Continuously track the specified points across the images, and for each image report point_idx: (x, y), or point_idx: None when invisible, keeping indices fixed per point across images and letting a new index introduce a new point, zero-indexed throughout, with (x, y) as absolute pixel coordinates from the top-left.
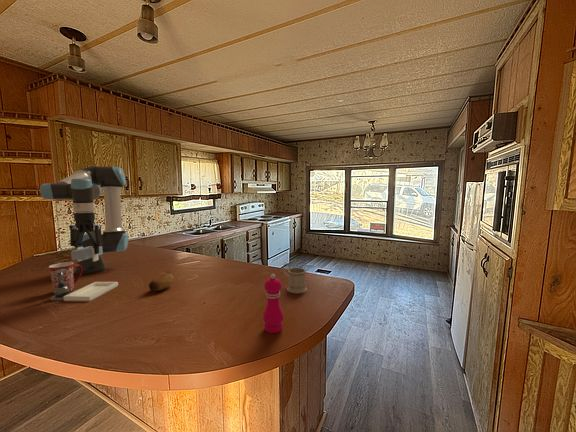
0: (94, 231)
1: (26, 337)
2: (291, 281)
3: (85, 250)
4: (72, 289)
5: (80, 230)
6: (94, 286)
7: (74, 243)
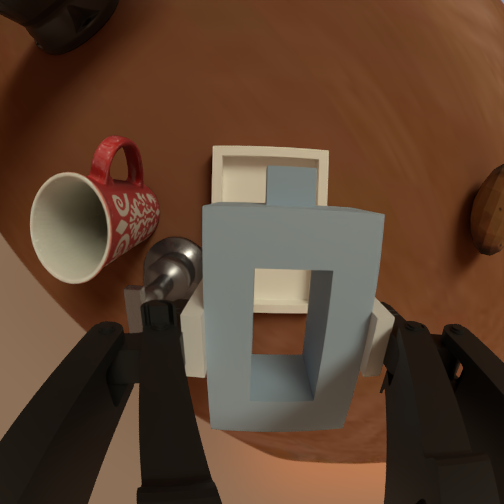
0: (484, 466)
1: (297, 446)
2: None
3: (336, 416)
4: (158, 206)
5: None
6: (226, 168)
7: (116, 368)
